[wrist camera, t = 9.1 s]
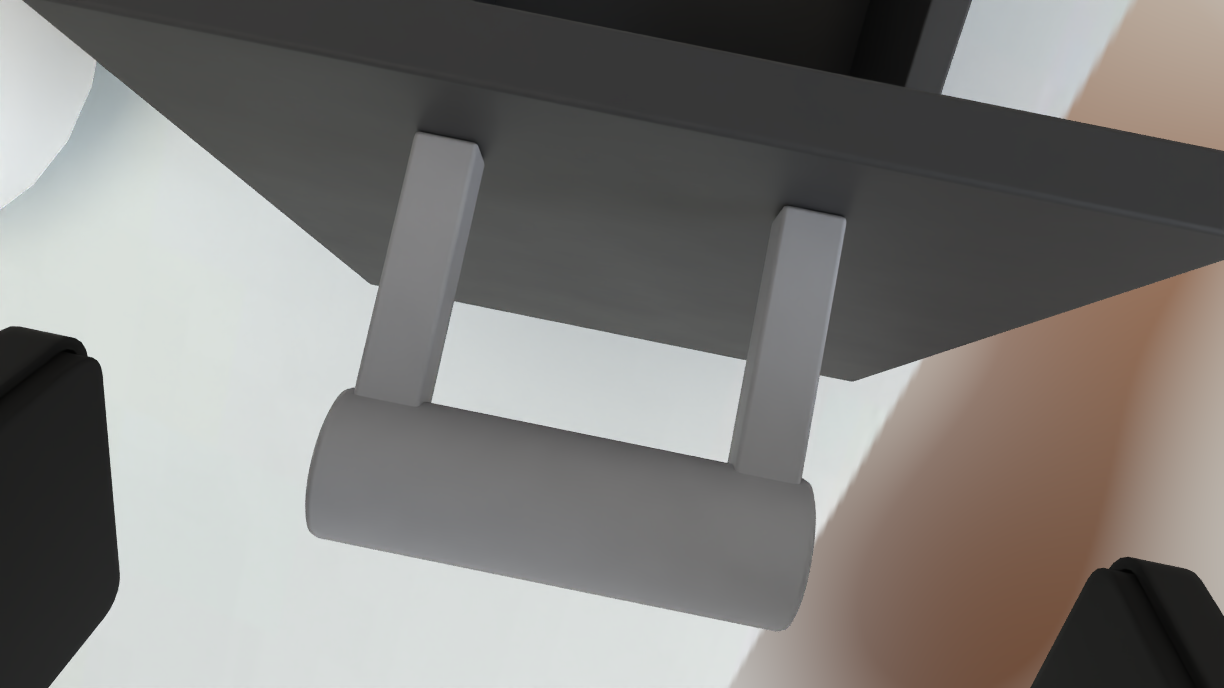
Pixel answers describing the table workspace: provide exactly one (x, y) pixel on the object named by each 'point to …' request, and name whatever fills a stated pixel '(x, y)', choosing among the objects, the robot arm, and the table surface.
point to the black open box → (793, 31)
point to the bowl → (36, 95)
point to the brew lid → (635, 256)
